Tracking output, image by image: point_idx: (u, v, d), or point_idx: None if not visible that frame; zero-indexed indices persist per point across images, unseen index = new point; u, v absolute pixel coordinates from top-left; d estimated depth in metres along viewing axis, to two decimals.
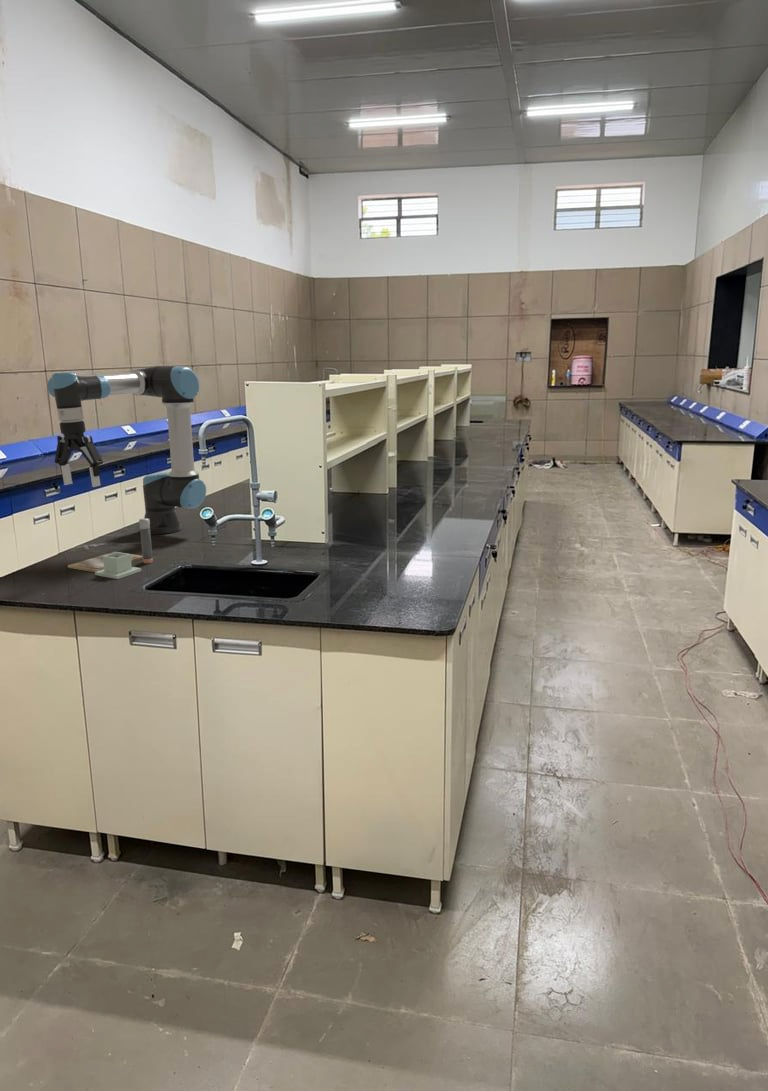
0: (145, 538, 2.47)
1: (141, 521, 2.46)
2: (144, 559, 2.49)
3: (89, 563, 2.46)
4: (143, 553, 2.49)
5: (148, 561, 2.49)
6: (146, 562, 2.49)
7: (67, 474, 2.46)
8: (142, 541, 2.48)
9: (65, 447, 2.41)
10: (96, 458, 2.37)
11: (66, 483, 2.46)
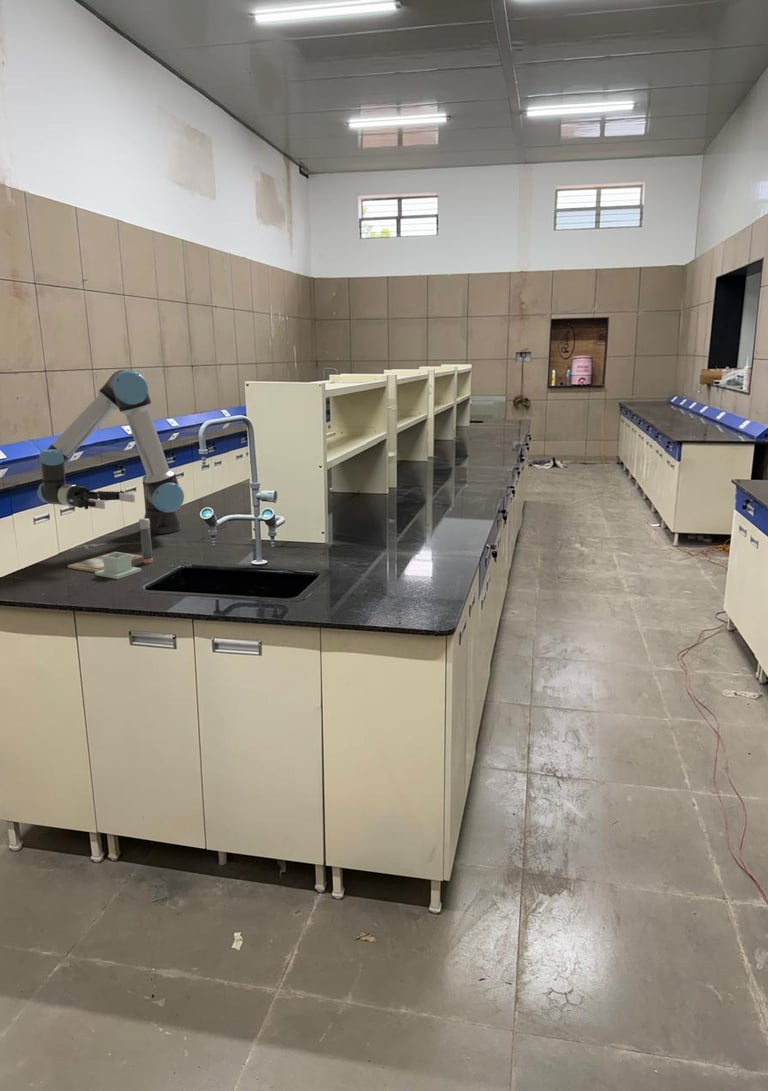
0: (145, 538, 2.47)
1: (141, 521, 2.46)
2: (144, 559, 2.49)
3: (89, 563, 2.46)
4: (143, 553, 2.49)
5: (148, 561, 2.49)
6: (146, 562, 2.49)
7: (126, 497, 2.58)
8: (142, 541, 2.48)
9: None
10: (77, 504, 2.47)
11: (132, 501, 2.57)
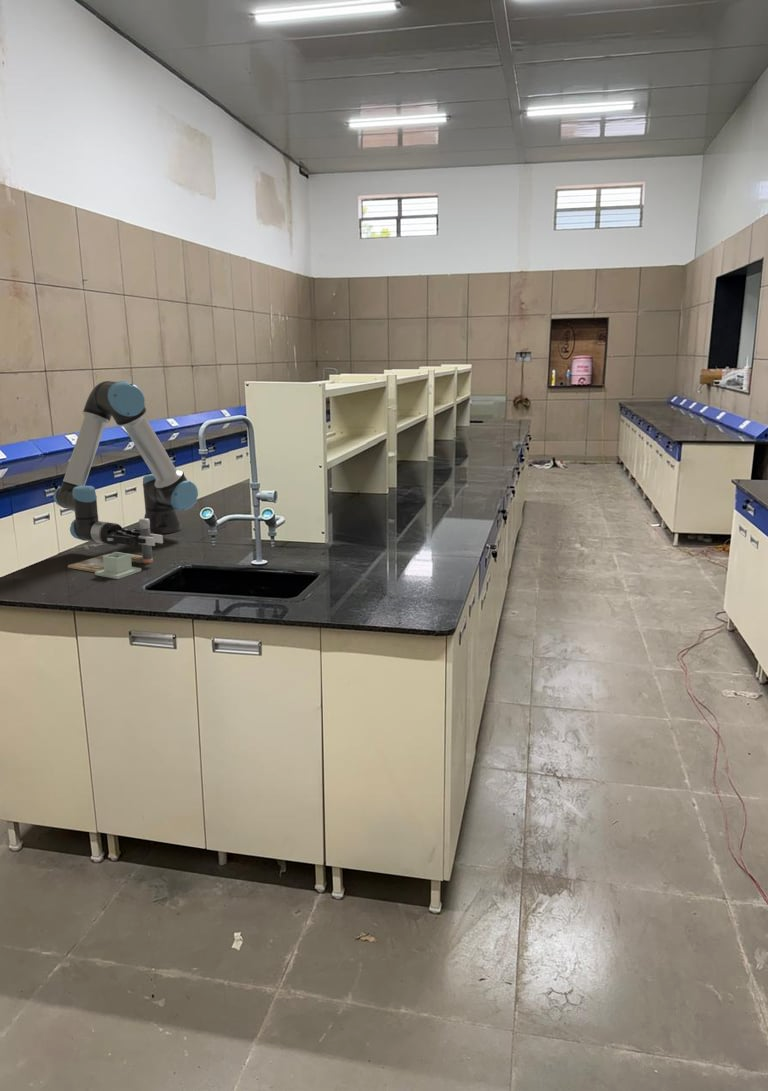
0: None
1: (141, 521, 2.46)
2: (144, 559, 2.49)
3: (89, 563, 2.46)
4: (143, 553, 2.49)
5: (148, 561, 2.49)
6: (146, 562, 2.49)
7: (153, 538, 2.49)
8: None
9: None
10: (126, 542, 2.46)
11: (160, 542, 2.48)
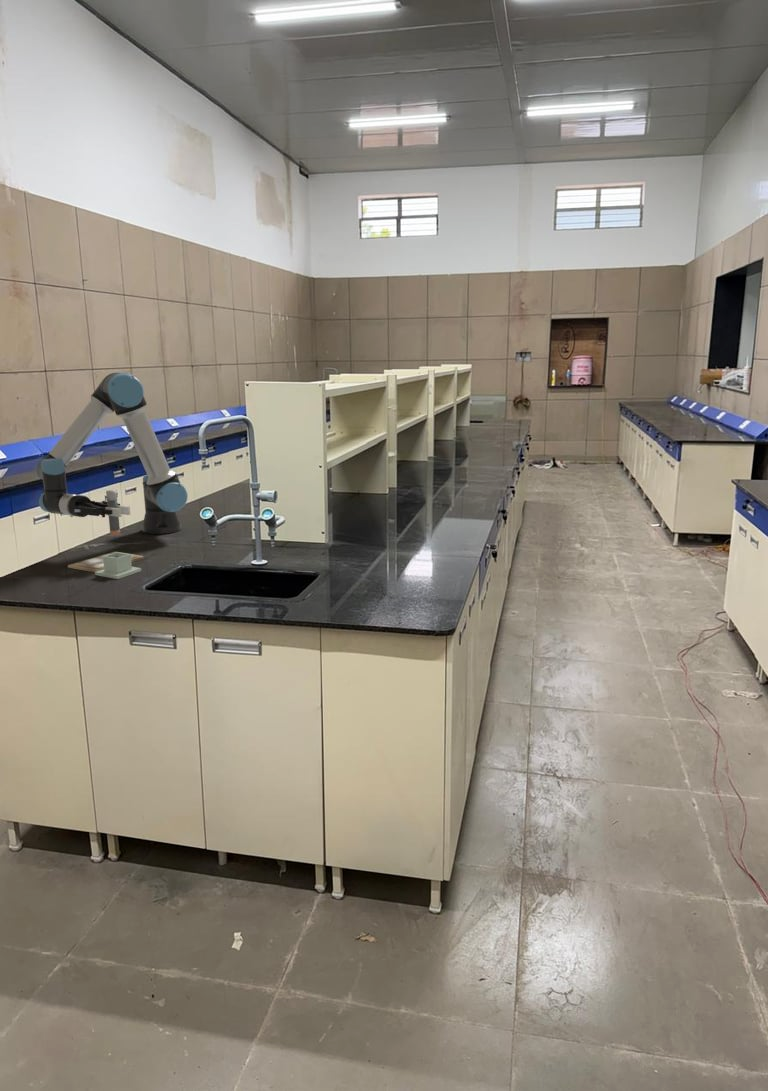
0: None
1: (108, 492, 2.47)
2: (111, 530, 2.51)
3: (89, 563, 2.46)
4: (110, 524, 2.50)
5: (115, 533, 2.51)
6: (113, 534, 2.51)
7: (121, 510, 2.51)
8: None
9: None
10: (93, 513, 2.47)
11: (127, 513, 2.50)
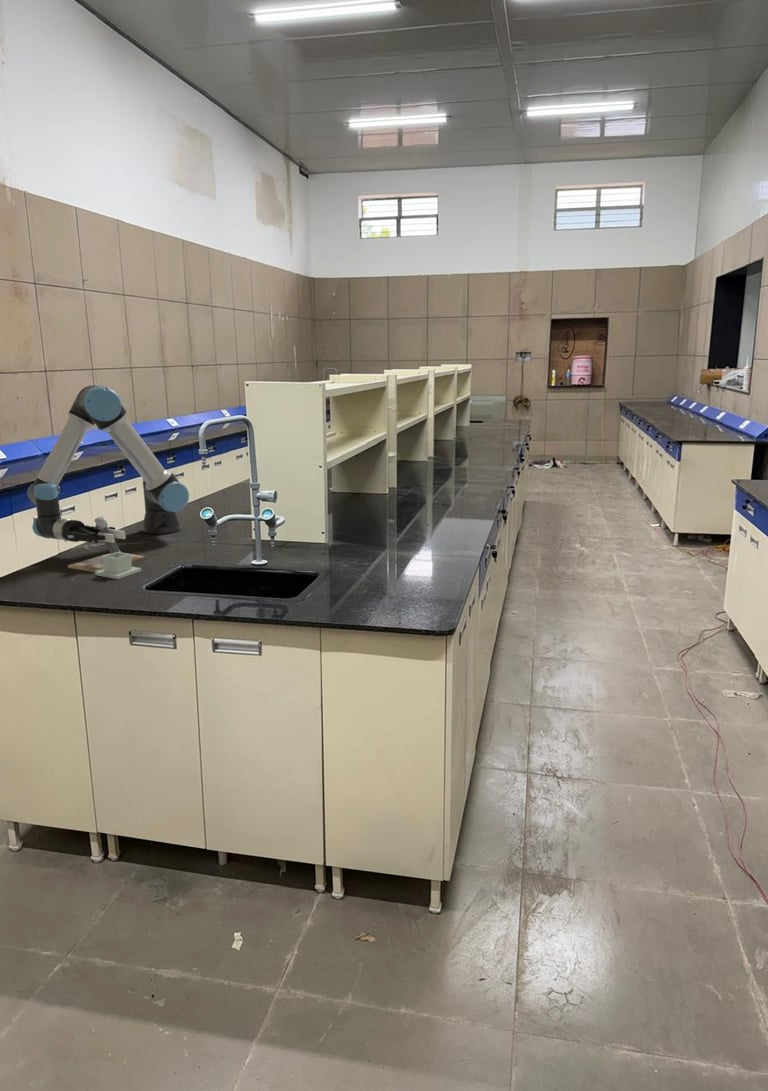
0: None
1: (97, 522, 2.45)
2: None
3: (89, 563, 2.46)
4: (109, 549, 2.51)
5: None
6: None
7: (116, 534, 2.50)
8: None
9: None
10: (85, 539, 2.46)
11: (122, 538, 2.49)
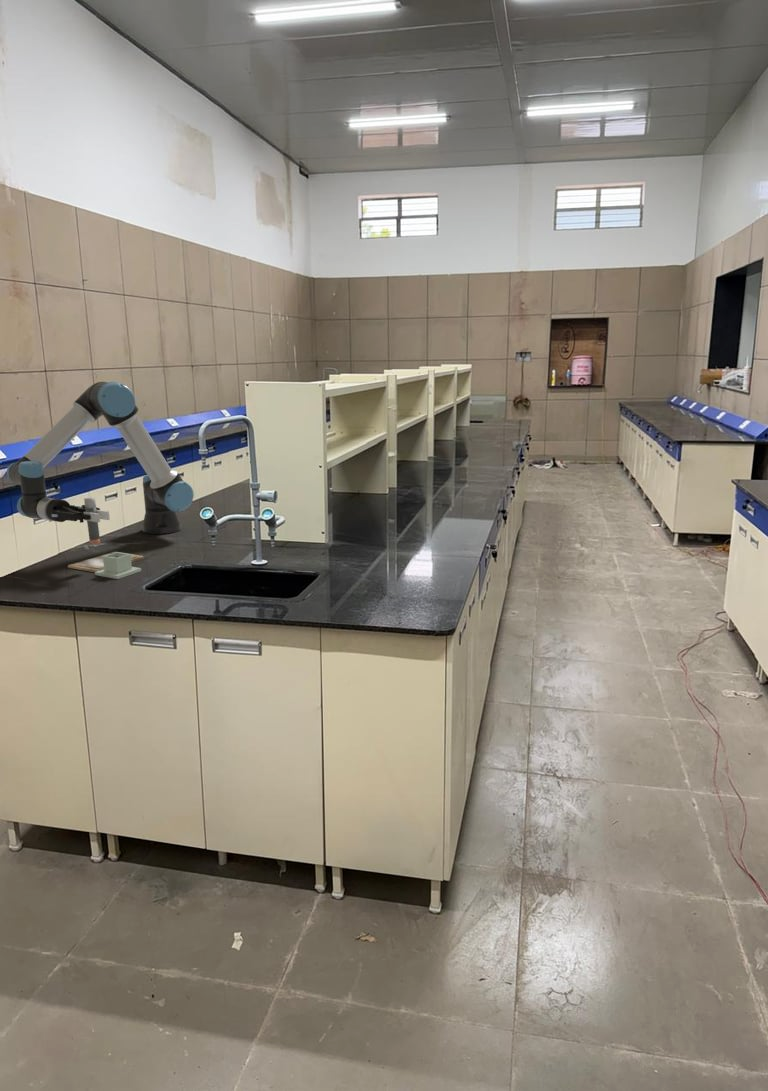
0: None
1: (85, 500, 2.37)
2: (90, 540, 2.40)
3: (89, 563, 2.46)
4: (89, 534, 2.40)
5: (94, 542, 2.40)
6: (92, 543, 2.40)
7: (100, 515, 2.40)
8: (87, 521, 2.39)
9: None
10: (70, 518, 2.37)
11: (106, 518, 2.39)
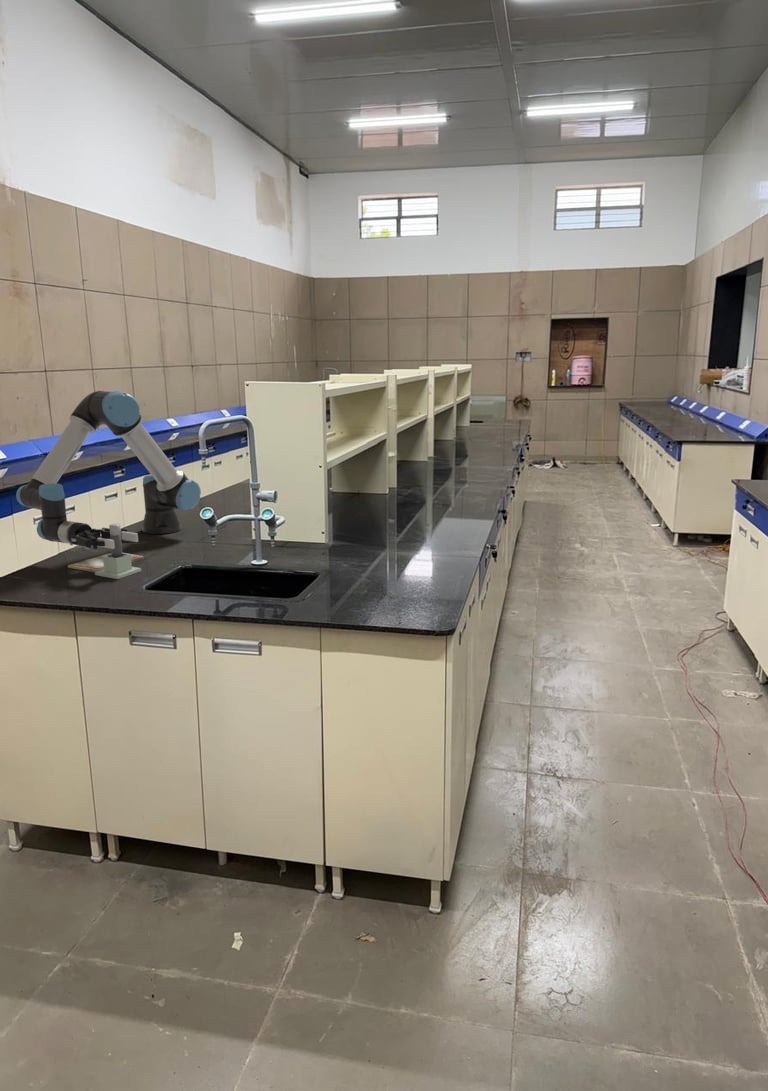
0: (115, 545, 2.34)
1: (111, 527, 2.33)
2: None
3: (89, 563, 2.46)
4: None
5: None
6: None
7: (128, 536, 2.39)
8: None
9: None
10: (84, 544, 2.31)
11: (135, 540, 2.38)
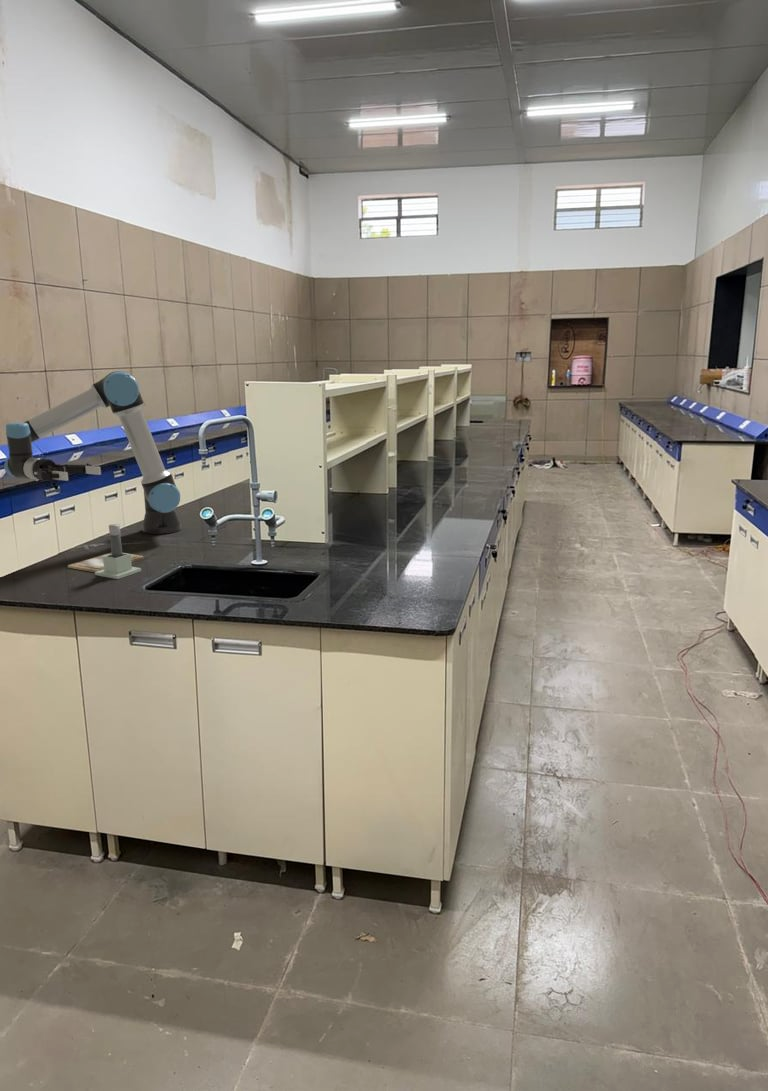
0: (115, 545, 2.34)
1: (110, 527, 2.33)
2: None
3: (89, 563, 2.46)
4: None
5: None
6: None
7: (92, 470, 2.54)
8: (112, 548, 2.35)
9: None
10: (41, 477, 2.43)
11: (98, 473, 2.53)
